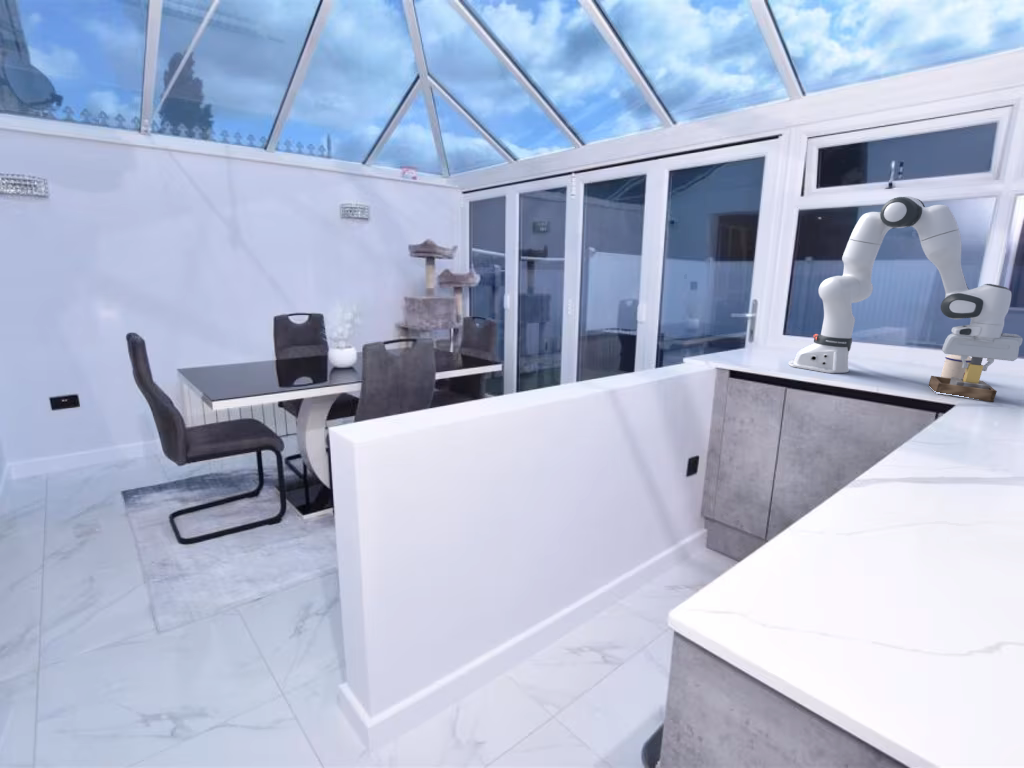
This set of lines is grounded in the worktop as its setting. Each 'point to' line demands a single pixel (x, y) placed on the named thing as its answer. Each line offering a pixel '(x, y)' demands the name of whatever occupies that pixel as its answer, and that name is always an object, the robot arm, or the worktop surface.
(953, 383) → the walled box
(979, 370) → the connector
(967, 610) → the worktop surface
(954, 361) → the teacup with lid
